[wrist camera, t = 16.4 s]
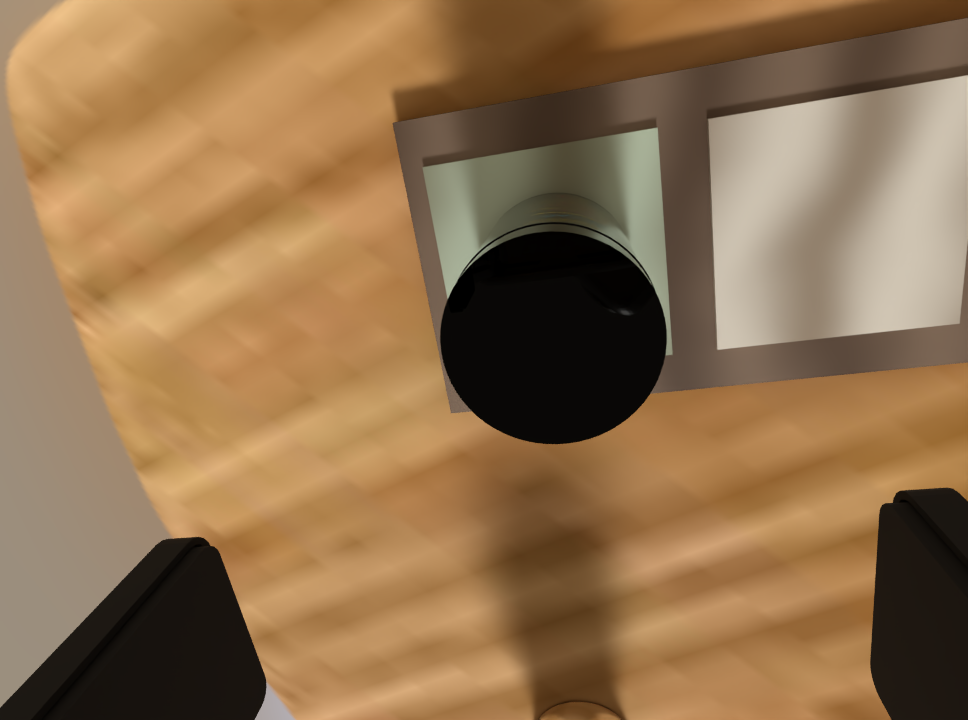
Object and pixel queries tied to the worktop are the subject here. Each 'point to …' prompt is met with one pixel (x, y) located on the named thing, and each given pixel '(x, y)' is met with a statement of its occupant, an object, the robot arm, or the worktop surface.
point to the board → (741, 201)
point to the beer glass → (579, 712)
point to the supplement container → (554, 324)
